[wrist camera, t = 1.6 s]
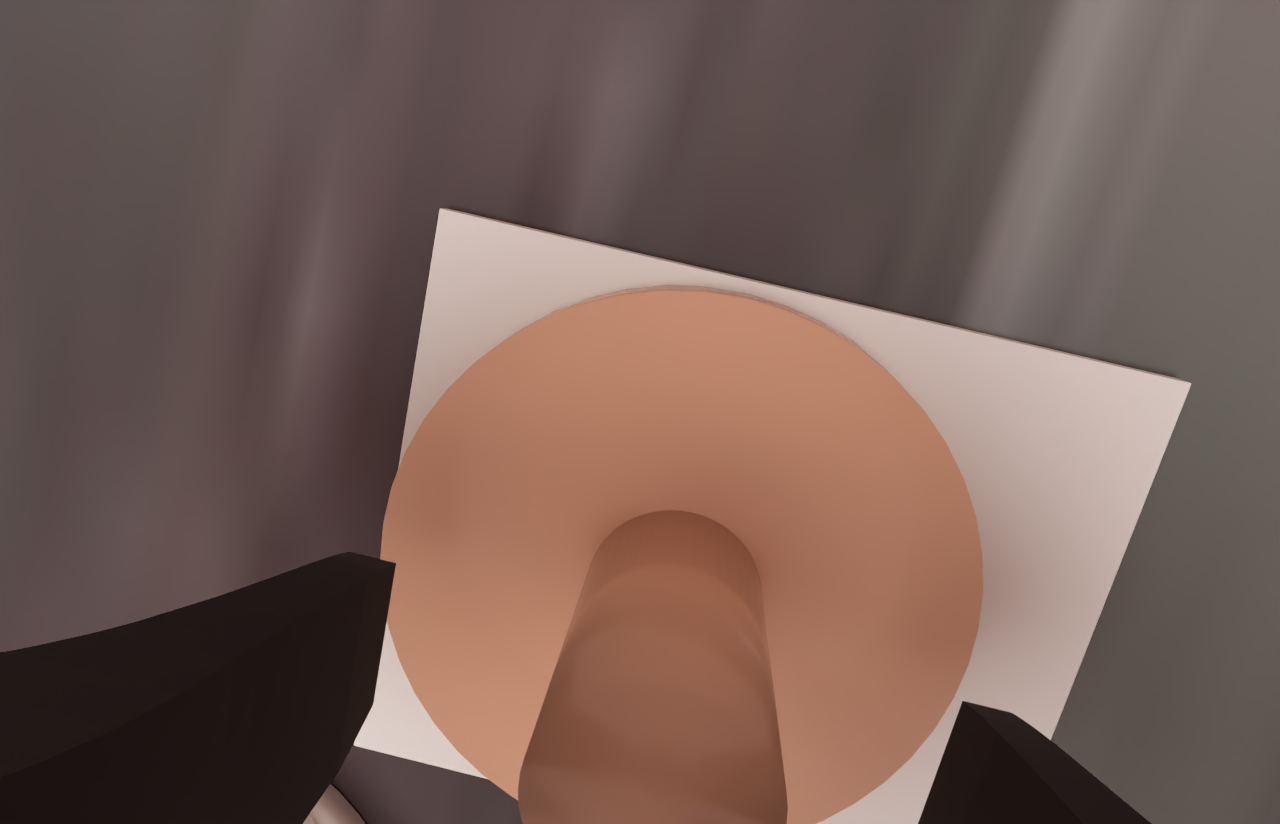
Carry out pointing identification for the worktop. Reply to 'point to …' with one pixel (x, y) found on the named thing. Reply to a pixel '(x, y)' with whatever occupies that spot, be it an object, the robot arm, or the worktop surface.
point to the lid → (682, 564)
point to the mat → (955, 403)
